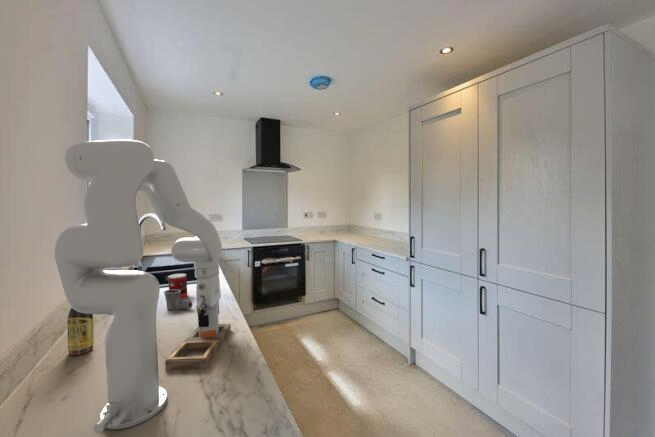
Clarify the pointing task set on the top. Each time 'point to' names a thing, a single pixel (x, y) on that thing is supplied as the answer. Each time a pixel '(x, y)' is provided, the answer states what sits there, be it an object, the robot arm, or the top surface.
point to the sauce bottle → (80, 332)
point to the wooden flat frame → (197, 345)
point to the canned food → (178, 283)
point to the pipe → (176, 300)
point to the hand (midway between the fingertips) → (209, 320)
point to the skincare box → (211, 323)
